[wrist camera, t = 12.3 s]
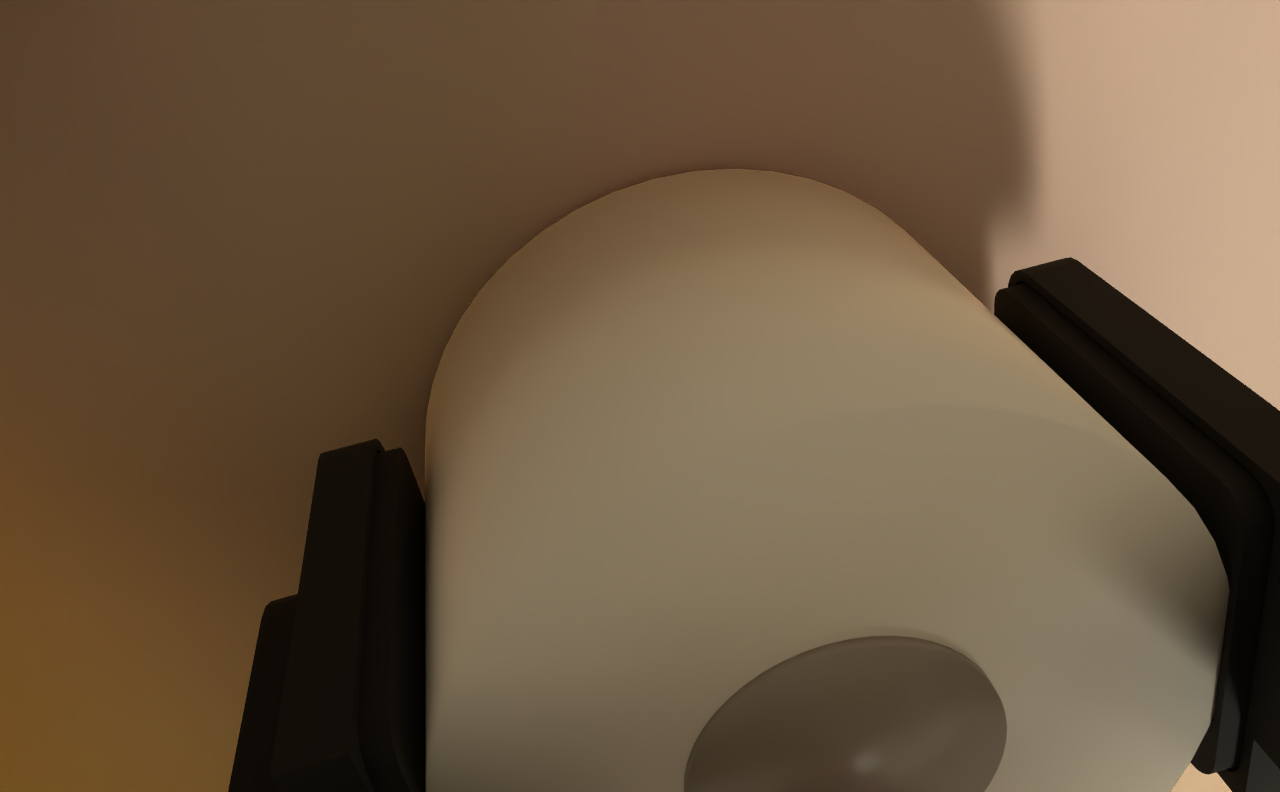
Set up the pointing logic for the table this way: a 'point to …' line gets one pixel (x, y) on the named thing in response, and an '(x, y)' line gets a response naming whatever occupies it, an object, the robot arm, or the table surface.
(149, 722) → the table surface
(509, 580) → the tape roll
